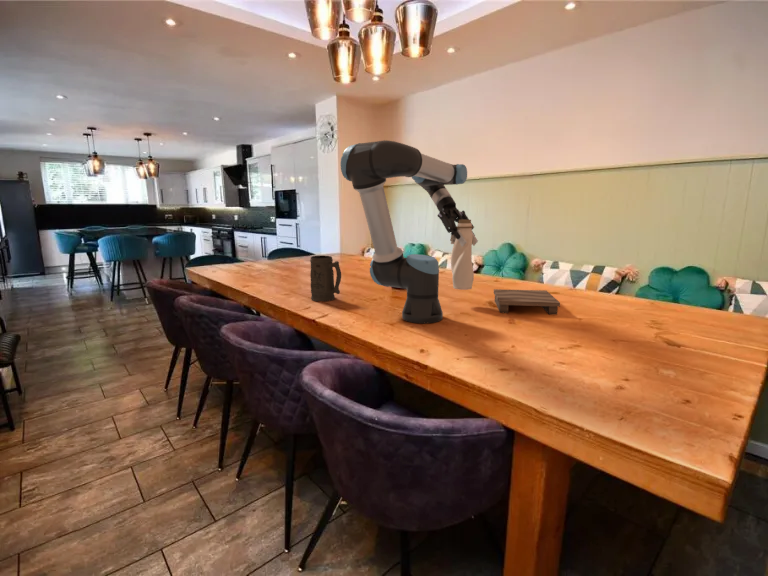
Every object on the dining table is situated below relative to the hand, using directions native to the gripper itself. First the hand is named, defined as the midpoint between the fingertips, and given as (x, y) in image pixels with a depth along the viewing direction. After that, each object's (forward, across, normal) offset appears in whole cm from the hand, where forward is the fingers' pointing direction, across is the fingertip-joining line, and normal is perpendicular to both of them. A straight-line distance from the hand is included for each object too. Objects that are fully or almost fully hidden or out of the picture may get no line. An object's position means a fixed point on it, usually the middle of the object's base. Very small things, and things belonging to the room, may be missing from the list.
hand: (469, 243), depth 155 cm
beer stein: (-14, +42, -52) cm, 68 cm away
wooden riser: (+28, -19, -9) cm, 35 cm away
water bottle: (+11, 0, -16) cm, 19 cm away
